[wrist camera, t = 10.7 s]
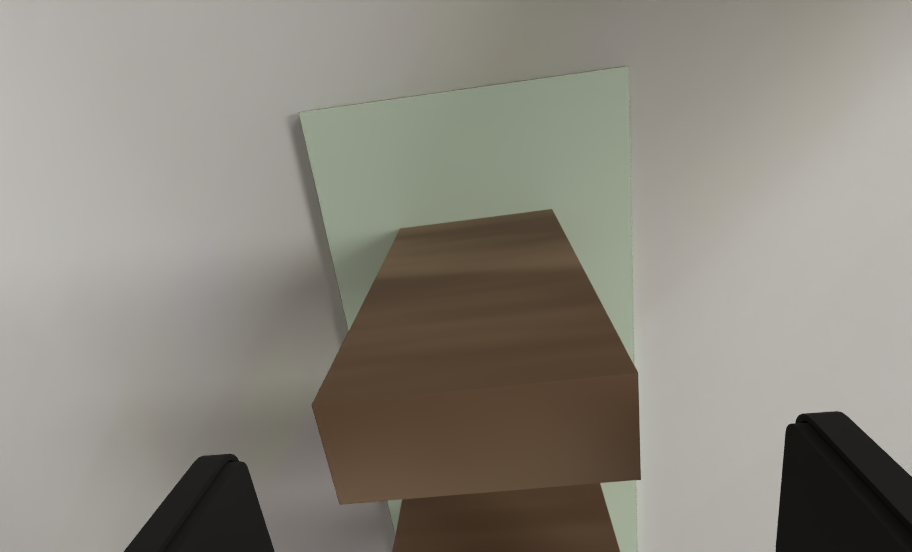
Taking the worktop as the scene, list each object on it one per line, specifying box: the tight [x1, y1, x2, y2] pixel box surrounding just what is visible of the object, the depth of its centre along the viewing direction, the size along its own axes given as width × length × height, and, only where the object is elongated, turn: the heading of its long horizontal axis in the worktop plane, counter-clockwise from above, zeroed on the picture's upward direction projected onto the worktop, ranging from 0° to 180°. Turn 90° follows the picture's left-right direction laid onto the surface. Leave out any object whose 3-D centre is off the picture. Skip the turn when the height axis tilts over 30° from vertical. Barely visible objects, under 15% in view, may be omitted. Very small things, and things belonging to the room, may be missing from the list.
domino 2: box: [393, 483, 620, 552], centre depth 18 cm, size 2×6×12 cm, turn 98°
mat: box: [299, 66, 638, 552], centre depth 26 cm, size 38×12×1 cm, turn 8°
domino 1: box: [312, 209, 641, 504], centre depth 16 cm, size 2×6×12 cm, turn 98°
